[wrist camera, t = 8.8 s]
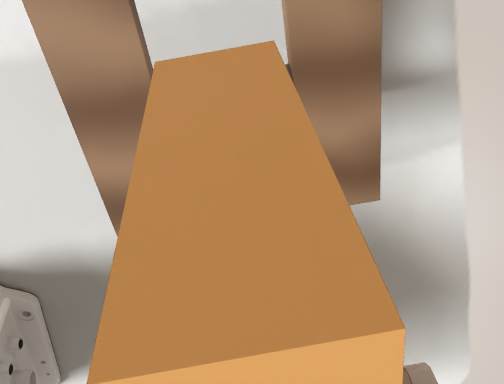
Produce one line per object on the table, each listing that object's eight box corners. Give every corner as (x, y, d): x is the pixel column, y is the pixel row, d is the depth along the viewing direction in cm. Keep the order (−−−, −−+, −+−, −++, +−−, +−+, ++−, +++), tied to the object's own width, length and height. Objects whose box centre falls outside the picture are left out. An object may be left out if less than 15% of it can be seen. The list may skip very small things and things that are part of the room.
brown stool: (327, 105, 40) (379, 199, 29) (142, 138, 40) (121, 246, 29) (313, -116, 31) (382, -108, 20) (75, -73, 31) (5, -40, 20)
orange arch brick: (300, 260, 21) (390, 595, 12) (213, 276, 21) (228, 624, 12) (273, 40, 16) (405, 328, 6) (155, 62, 16) (85, 385, 6)
